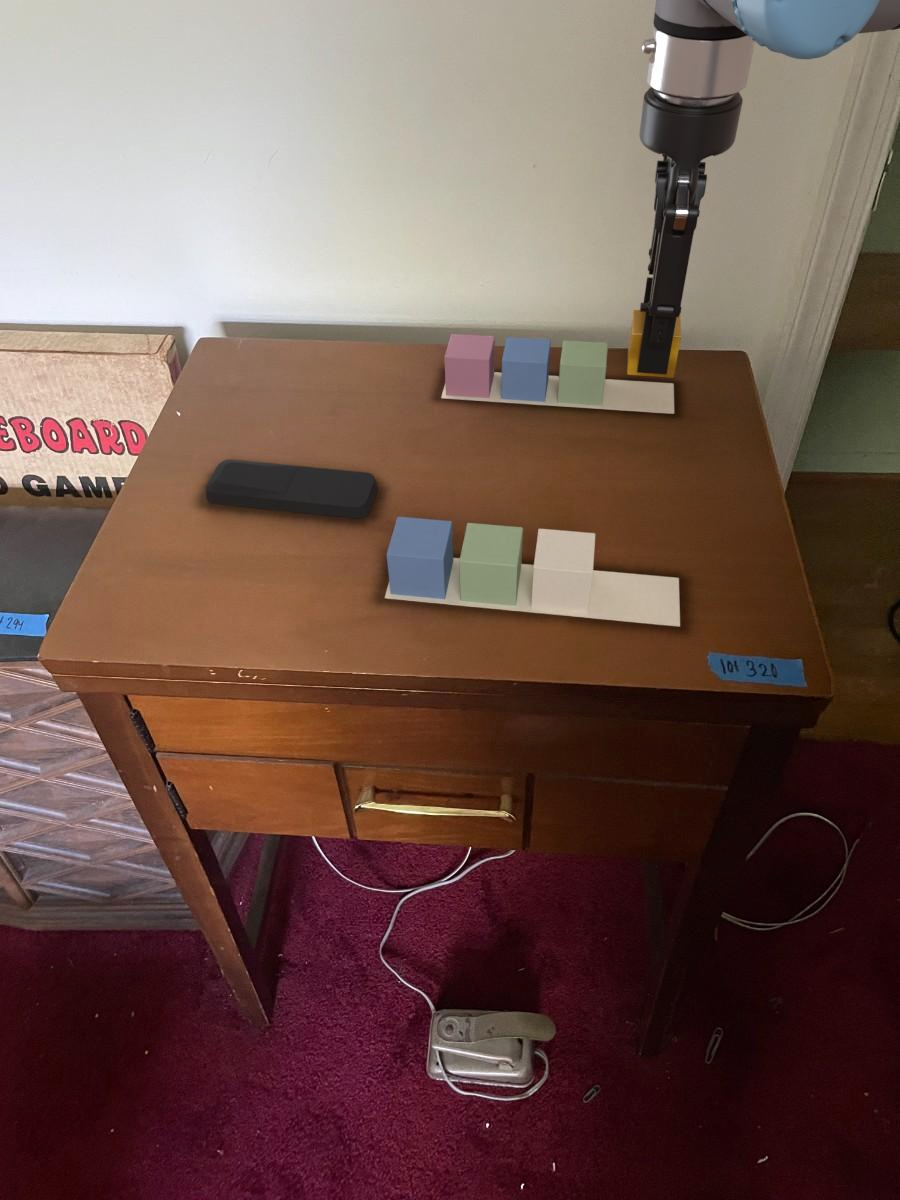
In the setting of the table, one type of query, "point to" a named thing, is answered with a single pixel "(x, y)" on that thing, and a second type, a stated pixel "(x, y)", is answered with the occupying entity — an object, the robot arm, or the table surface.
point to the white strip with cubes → (521, 574)
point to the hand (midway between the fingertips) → (652, 356)
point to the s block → (636, 345)
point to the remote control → (292, 488)
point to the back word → (545, 376)
